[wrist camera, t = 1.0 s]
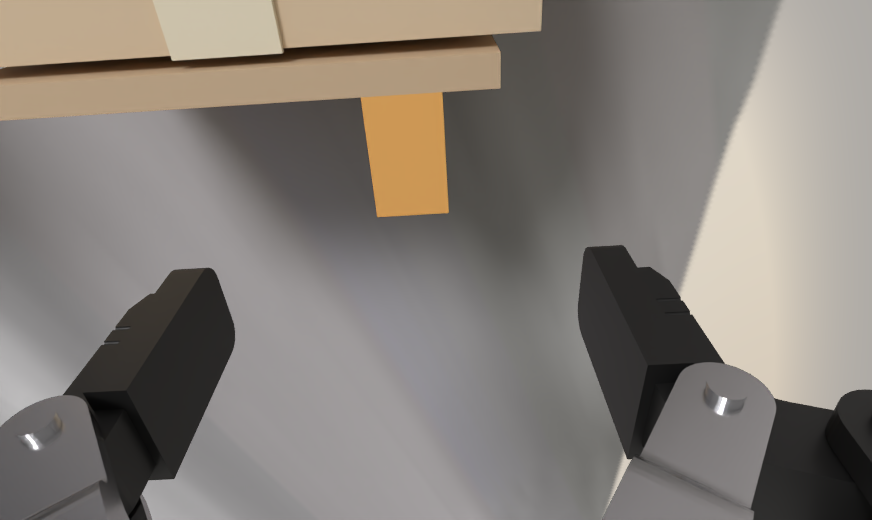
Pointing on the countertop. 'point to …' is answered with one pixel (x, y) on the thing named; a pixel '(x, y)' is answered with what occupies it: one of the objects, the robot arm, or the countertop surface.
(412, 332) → the countertop surface
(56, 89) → the flap
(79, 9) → the carton
